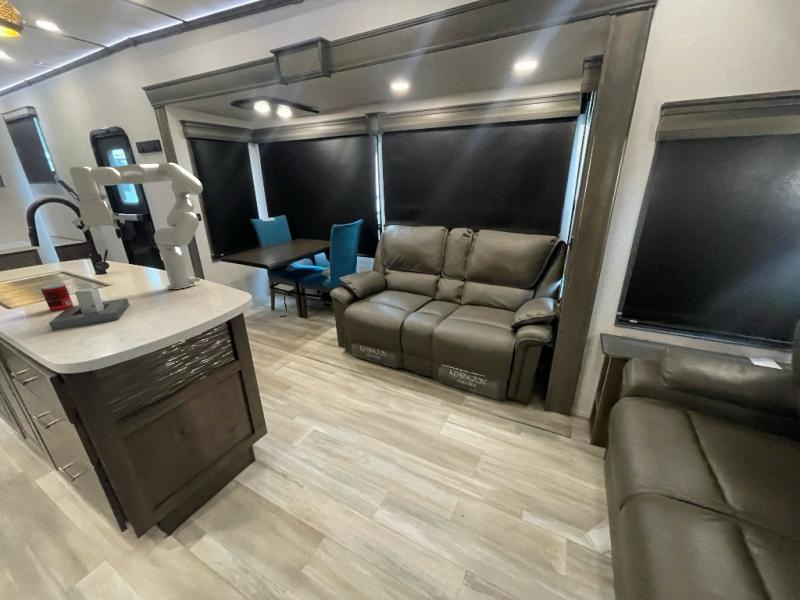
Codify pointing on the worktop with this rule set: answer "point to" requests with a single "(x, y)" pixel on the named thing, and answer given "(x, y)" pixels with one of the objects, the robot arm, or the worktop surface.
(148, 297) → the worktop surface
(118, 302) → the jig
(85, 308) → the skincare box
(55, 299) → the canned food
